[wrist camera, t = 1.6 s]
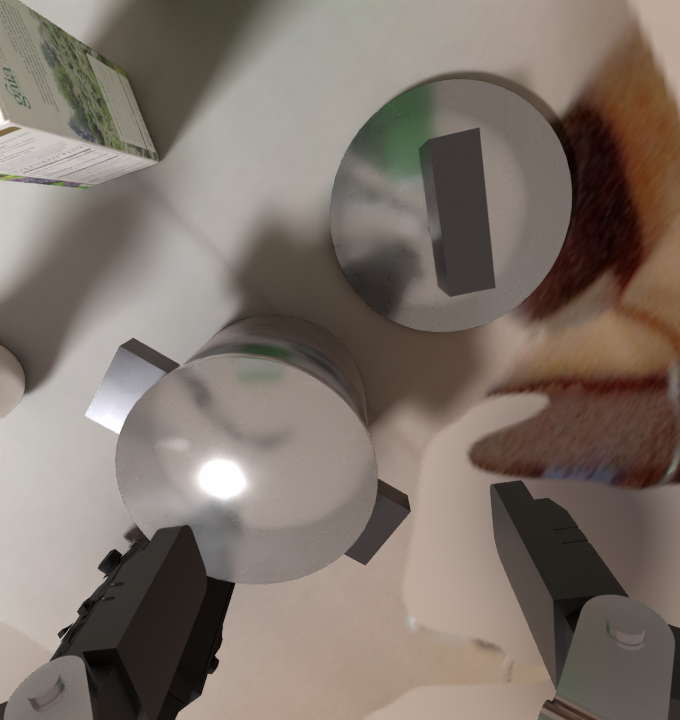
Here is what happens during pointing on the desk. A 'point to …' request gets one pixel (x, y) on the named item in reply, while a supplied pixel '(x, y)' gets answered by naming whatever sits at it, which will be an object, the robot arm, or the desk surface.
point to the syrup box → (64, 108)
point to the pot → (251, 449)
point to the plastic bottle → (10, 382)
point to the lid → (450, 205)
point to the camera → (199, 645)
